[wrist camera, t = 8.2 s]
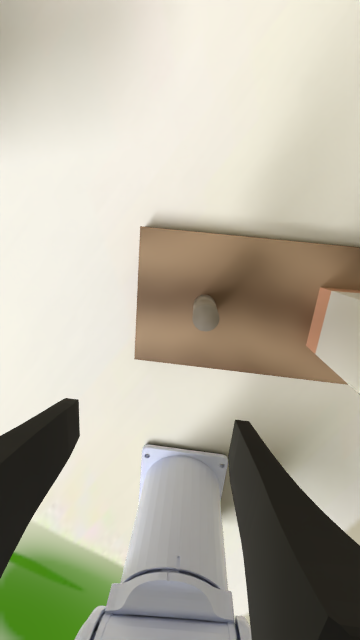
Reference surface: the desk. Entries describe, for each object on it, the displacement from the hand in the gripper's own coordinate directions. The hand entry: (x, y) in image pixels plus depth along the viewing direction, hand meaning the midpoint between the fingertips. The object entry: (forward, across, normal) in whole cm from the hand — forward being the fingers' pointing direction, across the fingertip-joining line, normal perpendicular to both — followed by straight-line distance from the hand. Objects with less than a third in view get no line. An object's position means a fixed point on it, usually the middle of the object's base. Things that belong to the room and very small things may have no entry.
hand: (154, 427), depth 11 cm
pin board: (+9, -7, -4) cm, 12 cm away
